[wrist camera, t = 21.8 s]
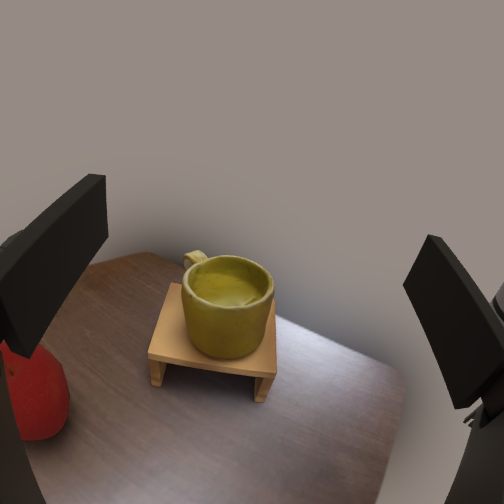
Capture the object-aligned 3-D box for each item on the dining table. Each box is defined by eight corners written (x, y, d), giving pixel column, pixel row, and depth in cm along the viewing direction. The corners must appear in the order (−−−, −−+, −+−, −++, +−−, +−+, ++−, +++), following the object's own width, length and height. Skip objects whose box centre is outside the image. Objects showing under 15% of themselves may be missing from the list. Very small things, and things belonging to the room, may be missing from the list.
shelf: (264, 333, 46) (274, 299, 42) (263, 403, 36) (277, 373, 32) (170, 318, 45) (171, 282, 41) (151, 385, 35) (147, 352, 31)
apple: (41, 475, 20) (-10, 435, 14) (-8, 412, 24) (-53, 354, 17) (101, 420, 29) (75, 364, 23) (48, 366, 32) (20, 303, 26)
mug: (298, 342, 34) (287, 270, 28) (216, 387, 30) (183, 322, 25) (248, 289, 43) (231, 225, 38) (180, 322, 40) (152, 260, 35)
